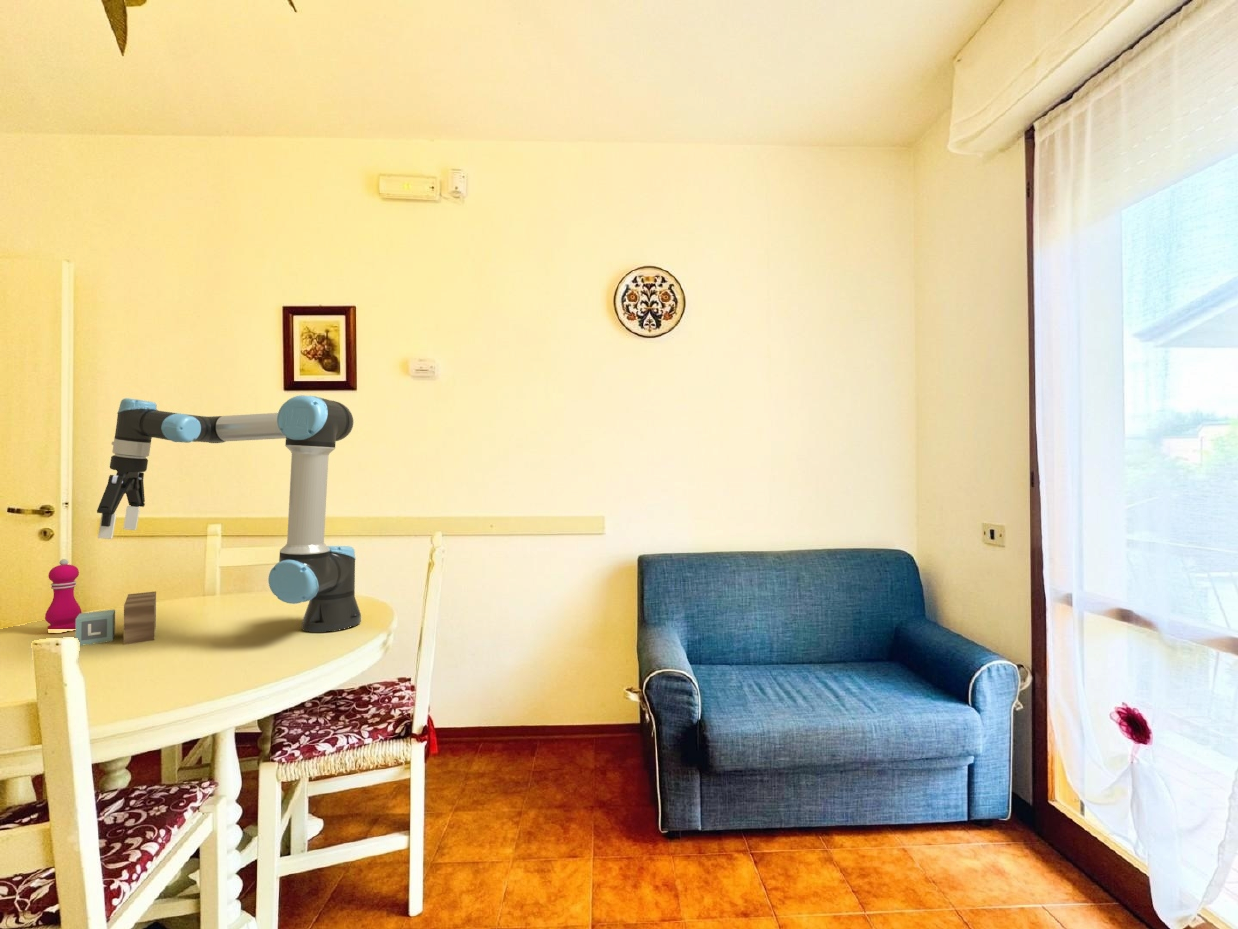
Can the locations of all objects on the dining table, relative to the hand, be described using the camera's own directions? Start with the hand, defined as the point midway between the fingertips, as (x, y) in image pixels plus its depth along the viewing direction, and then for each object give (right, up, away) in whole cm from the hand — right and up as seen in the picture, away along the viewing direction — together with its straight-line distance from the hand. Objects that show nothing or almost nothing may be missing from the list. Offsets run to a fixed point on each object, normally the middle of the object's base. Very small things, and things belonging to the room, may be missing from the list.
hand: (118, 533), depth 149 cm
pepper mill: (-20, -28, +5) cm, 35 cm away
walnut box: (+5, -28, +1) cm, 28 cm away
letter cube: (-3, -28, -3) cm, 28 cm away
